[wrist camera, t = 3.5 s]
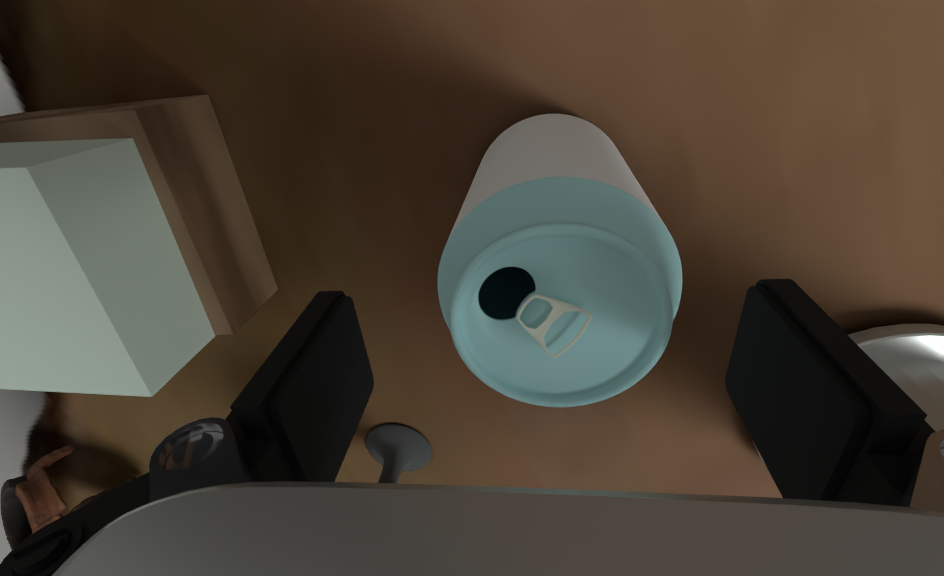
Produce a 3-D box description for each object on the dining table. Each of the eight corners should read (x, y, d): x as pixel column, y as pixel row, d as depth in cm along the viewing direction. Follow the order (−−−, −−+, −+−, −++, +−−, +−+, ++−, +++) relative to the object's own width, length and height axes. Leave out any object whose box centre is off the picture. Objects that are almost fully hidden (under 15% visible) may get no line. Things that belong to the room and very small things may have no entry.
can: (486, 257, 24) (448, 426, 14) (467, 121, 21) (398, 215, 11) (622, 247, 23) (689, 425, 13) (625, 101, 20) (719, 184, 9)
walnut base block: (212, 93, 22) (134, 109, 18) (280, 286, 28) (233, 334, 23) (27, 111, 24) (-84, 130, 20) (125, 290, 29) (55, 335, 25)
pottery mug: (126, 521, 44) (10, 579, 37) (103, 427, 44) (-17, 466, 37) (193, 531, 38) (71, 602, 31) (168, 422, 38) (39, 468, 31)
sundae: (336, 429, 33) (208, 687, 20) (412, 404, 31) (320, 677, 18) (387, 484, 36) (301, 745, 23) (459, 465, 33) (410, 742, 20)
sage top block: (132, 137, 19) (26, 167, 15) (215, 335, 23) (152, 396, 20) (-69, 145, 20) (-214, 174, 16) (50, 330, 25) (-40, 386, 21)
